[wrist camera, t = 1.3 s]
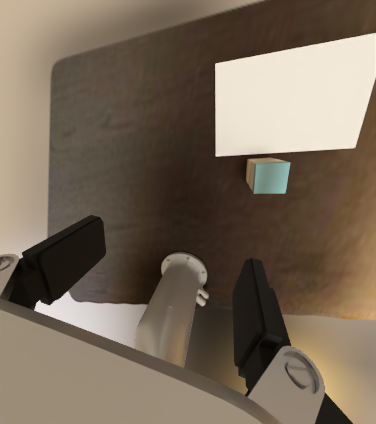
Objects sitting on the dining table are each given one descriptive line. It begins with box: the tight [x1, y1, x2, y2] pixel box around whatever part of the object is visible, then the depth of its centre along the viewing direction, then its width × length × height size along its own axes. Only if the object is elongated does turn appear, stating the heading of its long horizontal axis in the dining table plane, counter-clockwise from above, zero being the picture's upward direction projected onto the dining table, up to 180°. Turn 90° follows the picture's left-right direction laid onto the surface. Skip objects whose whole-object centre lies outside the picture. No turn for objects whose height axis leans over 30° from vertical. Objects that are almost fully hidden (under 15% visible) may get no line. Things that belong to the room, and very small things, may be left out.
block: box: [246, 158, 290, 194], centre depth 26 cm, size 4×4×10 cm
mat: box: [215, 33, 376, 156], centre depth 26 cm, size 22×14×1 cm, turn 94°
